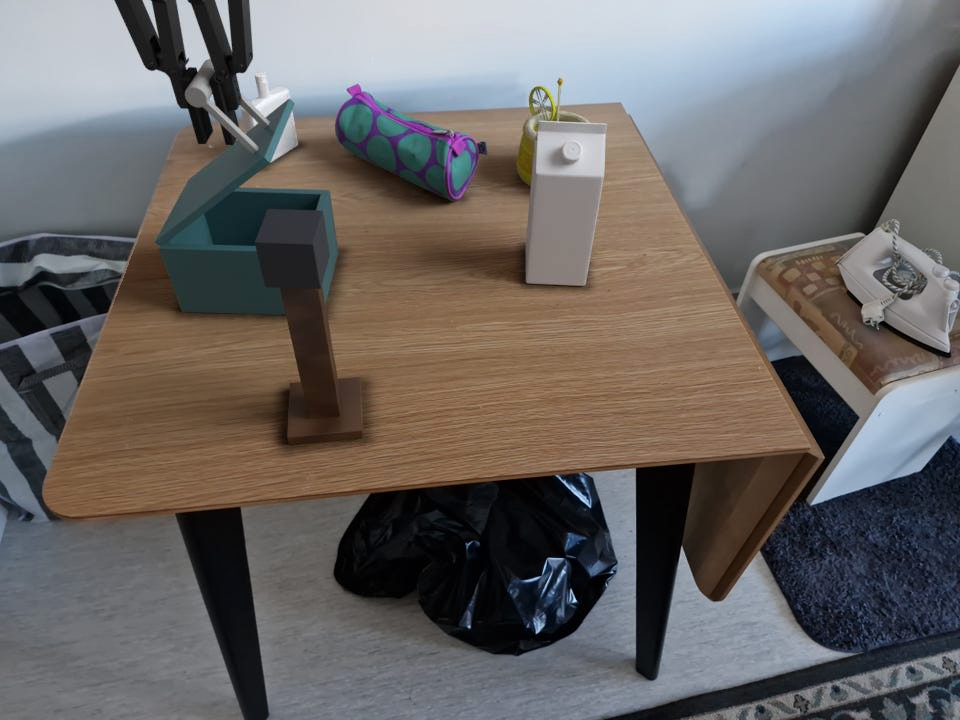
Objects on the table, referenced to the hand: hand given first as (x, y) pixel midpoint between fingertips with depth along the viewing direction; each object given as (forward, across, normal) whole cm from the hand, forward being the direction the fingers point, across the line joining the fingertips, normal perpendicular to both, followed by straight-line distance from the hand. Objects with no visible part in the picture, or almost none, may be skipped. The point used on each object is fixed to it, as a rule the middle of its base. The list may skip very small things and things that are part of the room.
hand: (219, 137), depth 72 cm
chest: (+18, -1, 0) cm, 18 cm away
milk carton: (+19, -35, -4) cm, 40 cm away
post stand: (+18, -12, +20) cm, 30 cm away
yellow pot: (+19, -36, -26) cm, 48 cm away
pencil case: (+19, -16, -24) cm, 35 cm away
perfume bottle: (+19, +4, -28) cm, 34 cm away
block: (0, -12, +20) cm, 23 cm away
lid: (+4, 0, 0) cm, 4 cm away
